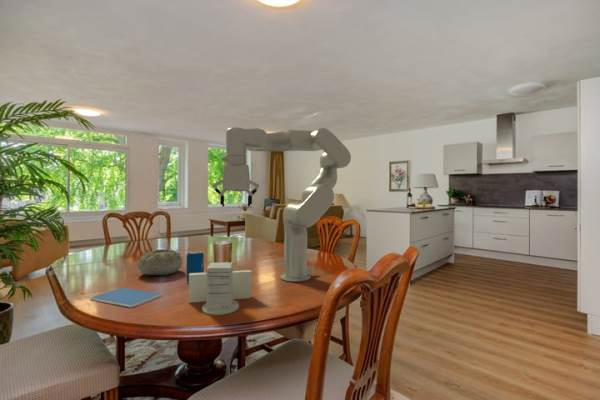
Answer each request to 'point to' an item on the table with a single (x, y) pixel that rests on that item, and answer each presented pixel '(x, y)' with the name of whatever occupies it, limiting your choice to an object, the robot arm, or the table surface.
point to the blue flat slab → (126, 297)
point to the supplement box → (219, 285)
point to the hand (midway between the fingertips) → (236, 206)
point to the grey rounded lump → (160, 262)
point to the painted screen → (239, 286)
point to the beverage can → (195, 262)
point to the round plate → (221, 312)
